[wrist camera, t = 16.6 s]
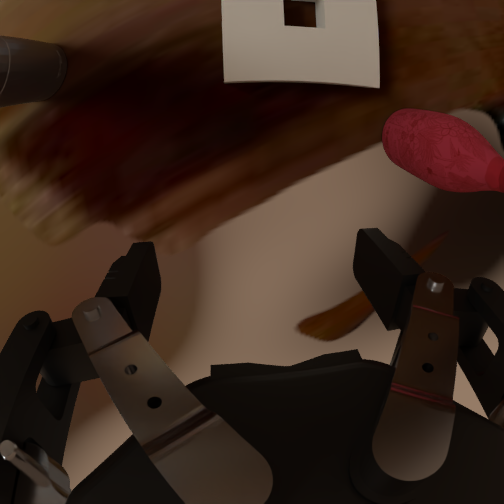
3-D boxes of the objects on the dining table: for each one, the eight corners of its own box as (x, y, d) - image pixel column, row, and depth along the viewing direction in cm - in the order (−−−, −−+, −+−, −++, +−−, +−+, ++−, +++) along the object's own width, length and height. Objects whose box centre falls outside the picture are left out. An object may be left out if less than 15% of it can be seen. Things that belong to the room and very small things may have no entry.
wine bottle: (433, 158, 43) (578, 239, 16) (386, 175, 44) (529, 279, 17) (422, 101, 38) (587, 145, 12) (370, 114, 39) (541, 169, 13)
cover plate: (224, 83, 36) (224, 81, 33) (220, -42, 26) (220, -53, 23) (367, 87, 37) (379, 88, 34) (360, -30, 28) (371, -38, 24)
